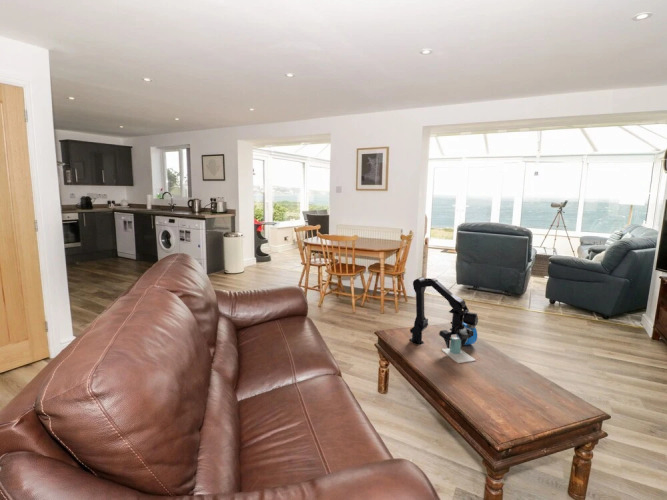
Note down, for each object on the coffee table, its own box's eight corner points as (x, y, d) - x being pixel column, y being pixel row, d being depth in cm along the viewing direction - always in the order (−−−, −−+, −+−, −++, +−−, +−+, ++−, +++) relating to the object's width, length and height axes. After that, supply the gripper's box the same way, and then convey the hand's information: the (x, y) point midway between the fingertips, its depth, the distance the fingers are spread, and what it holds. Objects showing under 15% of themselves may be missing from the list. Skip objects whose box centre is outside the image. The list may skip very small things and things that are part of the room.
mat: (441, 350, 207) (441, 349, 207) (458, 348, 210) (458, 347, 210) (457, 363, 192) (458, 362, 192) (475, 361, 195) (475, 360, 195)
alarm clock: (454, 339, 222) (456, 316, 219) (463, 338, 224) (465, 315, 221) (468, 348, 210) (470, 324, 207) (476, 347, 212) (479, 323, 209)
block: (449, 350, 205) (450, 337, 204) (455, 350, 206) (457, 336, 205) (453, 354, 202) (455, 340, 200) (460, 353, 203) (461, 339, 201)
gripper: (451, 328, 191) (448, 355, 193) (481, 325, 196) (478, 352, 198) (439, 320, 201) (437, 346, 204) (468, 318, 206) (466, 343, 209)
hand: (455, 347), depth 203 cm, fingers open, 9 cm apart
